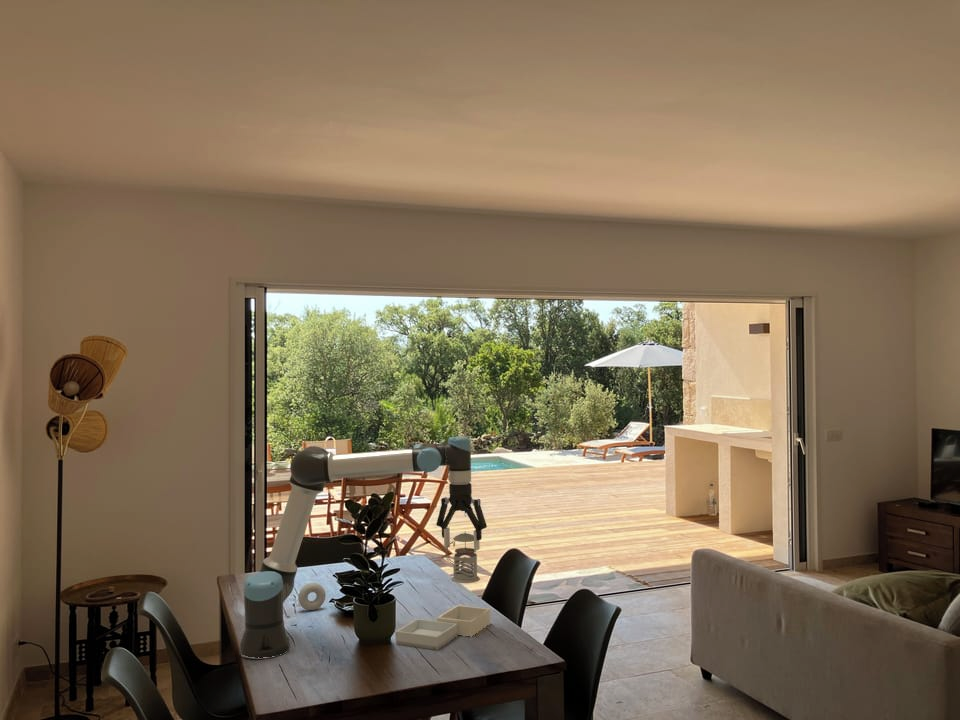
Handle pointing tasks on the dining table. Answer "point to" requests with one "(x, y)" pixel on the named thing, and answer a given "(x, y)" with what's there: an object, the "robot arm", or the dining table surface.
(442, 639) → the tray
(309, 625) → the dining table surface
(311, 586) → the donut
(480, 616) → the cream open box
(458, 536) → the french press
